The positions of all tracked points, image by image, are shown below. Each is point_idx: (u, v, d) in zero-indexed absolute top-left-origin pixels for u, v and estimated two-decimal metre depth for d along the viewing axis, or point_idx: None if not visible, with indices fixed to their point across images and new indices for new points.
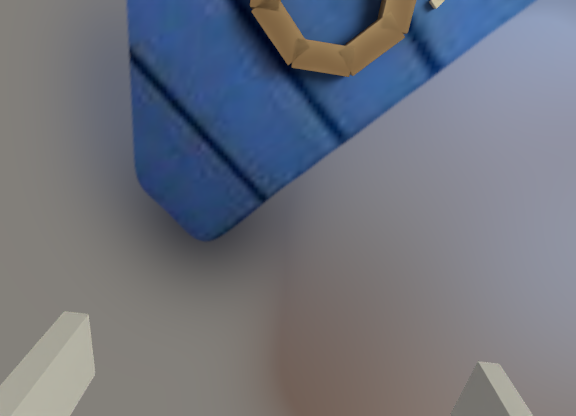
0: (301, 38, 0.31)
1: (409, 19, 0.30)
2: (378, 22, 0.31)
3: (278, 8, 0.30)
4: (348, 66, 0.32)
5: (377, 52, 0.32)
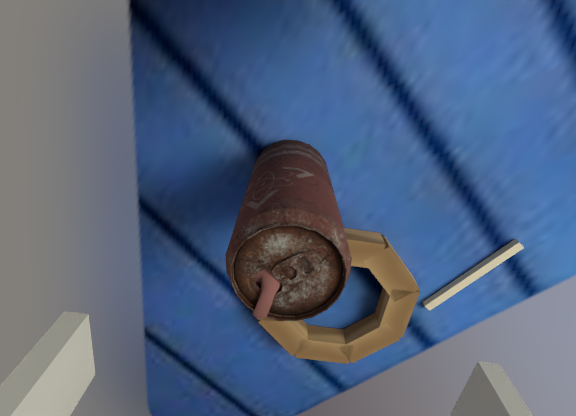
0: (304, 339, 0.34)
1: (404, 328, 0.33)
2: (375, 330, 0.33)
3: None
4: (347, 357, 0.35)
5: (375, 349, 0.34)
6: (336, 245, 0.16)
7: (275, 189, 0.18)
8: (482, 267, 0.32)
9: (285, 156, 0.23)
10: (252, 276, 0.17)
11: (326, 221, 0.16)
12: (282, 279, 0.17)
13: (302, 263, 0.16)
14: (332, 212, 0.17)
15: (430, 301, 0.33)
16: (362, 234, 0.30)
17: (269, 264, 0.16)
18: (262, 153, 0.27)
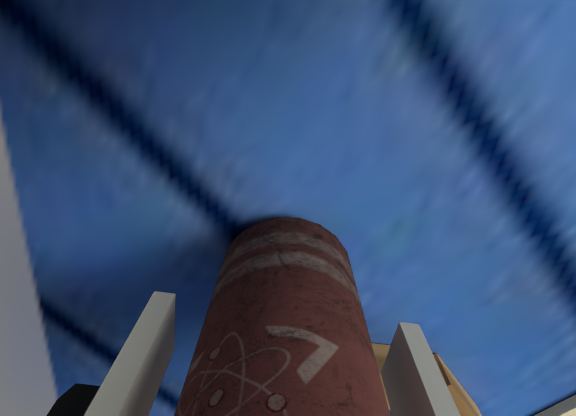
0: None
1: None
2: None
3: None
4: None
5: None
6: None
7: None
8: None
9: (276, 274, 0.12)
10: None
11: None
12: None
13: None
14: None
15: None
16: None
17: None
18: (237, 243, 0.15)
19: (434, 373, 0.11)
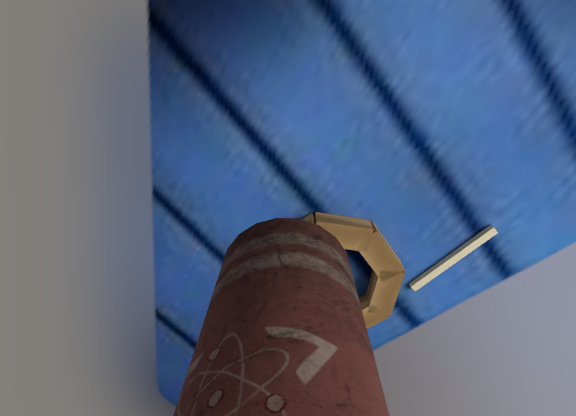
0: None
1: (392, 307, 0.36)
2: (366, 308, 0.37)
3: None
4: None
5: None
6: None
7: None
8: (461, 250, 0.35)
9: (275, 275, 0.12)
10: None
11: None
12: None
13: None
14: None
15: (415, 282, 0.37)
16: (353, 220, 0.34)
17: None
18: (236, 244, 0.15)
19: None
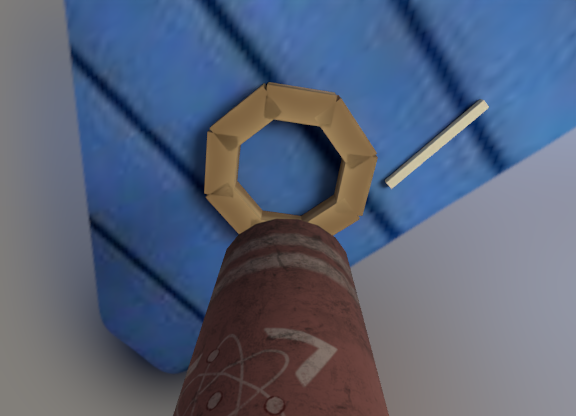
0: (257, 219, 0.31)
1: (363, 204, 0.31)
2: (332, 206, 0.31)
3: (232, 195, 0.30)
4: None
5: (333, 231, 0.32)
6: None
7: None
8: (445, 132, 0.29)
9: (274, 276, 0.11)
10: None
11: None
12: None
13: None
14: None
15: (392, 177, 0.31)
16: (313, 90, 0.28)
17: None
18: (235, 244, 0.15)
19: None
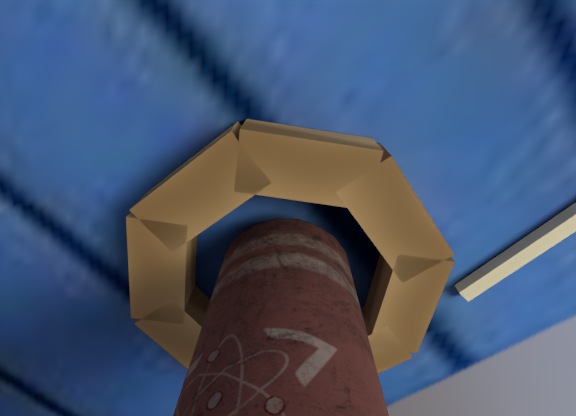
0: None
1: (420, 336, 0.17)
2: None
3: (183, 321, 0.17)
4: None
5: None
6: None
7: None
8: None
9: (274, 276, 0.12)
10: None
11: None
12: None
13: None
14: None
15: (471, 283, 0.17)
16: (334, 136, 0.14)
17: None
18: (235, 244, 0.15)
19: None
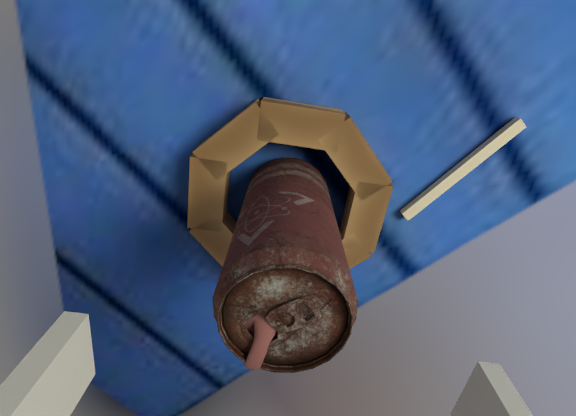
0: None
1: (375, 240, 0.26)
2: None
3: (221, 229, 0.26)
4: None
5: None
6: (340, 289, 0.13)
7: (270, 220, 0.16)
8: (473, 156, 0.25)
9: (282, 177, 0.21)
10: (243, 323, 0.14)
11: (328, 260, 0.14)
12: (278, 326, 0.14)
13: (301, 308, 0.14)
14: (335, 247, 0.15)
15: (409, 207, 0.26)
16: (317, 107, 0.23)
17: (263, 310, 0.14)
18: (257, 172, 0.24)
19: None
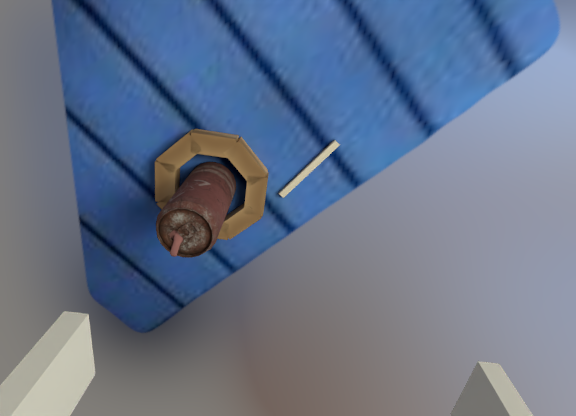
0: None
1: (262, 208, 0.46)
2: (242, 210, 0.46)
3: None
4: (226, 234, 0.47)
5: (244, 226, 0.47)
6: (205, 218, 0.33)
7: (183, 192, 0.36)
8: (313, 161, 0.44)
9: (200, 172, 0.41)
10: (168, 234, 0.34)
11: (201, 207, 0.33)
12: (183, 235, 0.34)
13: (191, 227, 0.34)
14: (210, 203, 0.35)
15: (282, 189, 0.46)
16: (223, 134, 0.43)
17: (175, 228, 0.34)
18: (193, 170, 0.44)
19: None
